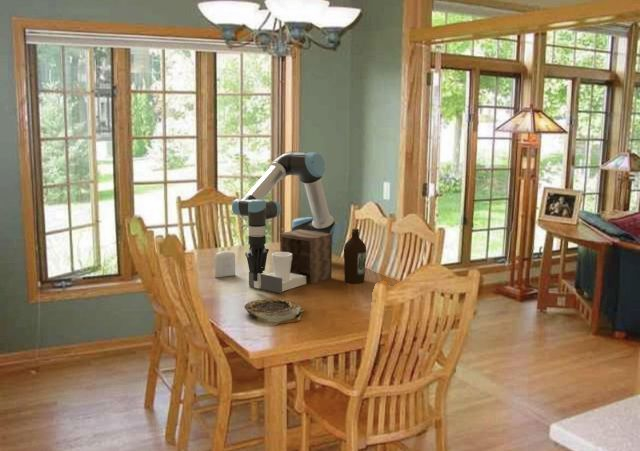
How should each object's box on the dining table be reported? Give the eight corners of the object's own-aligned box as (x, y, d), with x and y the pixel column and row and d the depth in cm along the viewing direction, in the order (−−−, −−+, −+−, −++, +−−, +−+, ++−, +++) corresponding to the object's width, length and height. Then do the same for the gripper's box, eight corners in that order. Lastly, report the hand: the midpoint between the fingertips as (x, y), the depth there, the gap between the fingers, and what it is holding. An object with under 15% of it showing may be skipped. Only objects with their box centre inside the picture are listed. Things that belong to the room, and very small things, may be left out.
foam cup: (284, 285, 296) (284, 257, 294) (267, 282, 301) (267, 254, 299) (295, 280, 305) (296, 253, 302) (279, 278, 309) (279, 251, 307)
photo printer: (232, 273, 323) (232, 249, 320) (236, 275, 319) (236, 250, 317) (213, 276, 317) (213, 251, 315) (217, 278, 313) (216, 253, 311)
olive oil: (338, 281, 310) (339, 229, 306) (351, 277, 318) (352, 226, 314) (357, 285, 304) (359, 232, 300) (369, 280, 312) (371, 228, 308)
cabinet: (300, 271, 329) (300, 229, 325) (331, 277, 317) (331, 233, 313) (280, 277, 317) (280, 233, 313) (312, 283, 305) (312, 238, 301)
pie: (247, 330, 241) (247, 317, 241) (227, 310, 266) (226, 298, 265) (317, 321, 253) (317, 308, 252) (291, 303, 277) (291, 291, 277)
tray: (277, 277, 315) (277, 264, 314) (308, 284, 303) (308, 270, 302) (248, 286, 299) (248, 271, 298) (280, 293, 288) (280, 278, 287)
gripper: (260, 232, 293) (261, 283, 297) (240, 236, 282) (240, 289, 286) (273, 234, 288) (273, 286, 292) (253, 238, 278) (253, 292, 282)
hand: (257, 287), depth 289 cm, fingers closed
